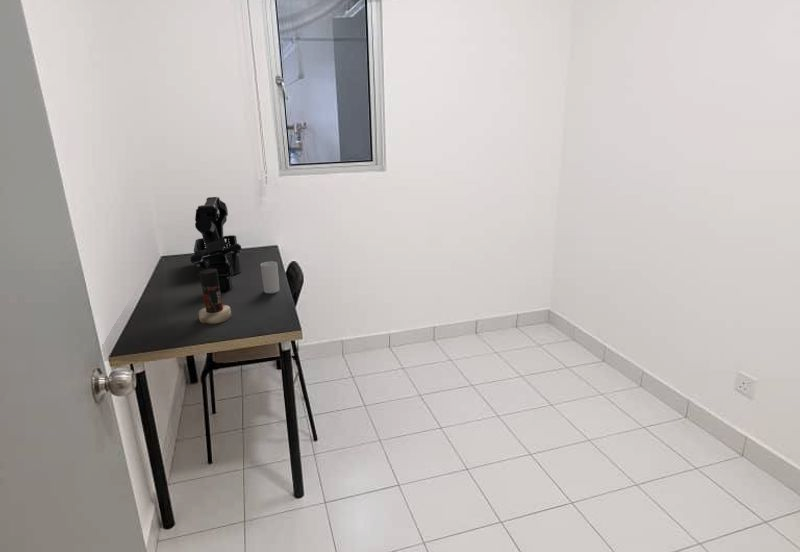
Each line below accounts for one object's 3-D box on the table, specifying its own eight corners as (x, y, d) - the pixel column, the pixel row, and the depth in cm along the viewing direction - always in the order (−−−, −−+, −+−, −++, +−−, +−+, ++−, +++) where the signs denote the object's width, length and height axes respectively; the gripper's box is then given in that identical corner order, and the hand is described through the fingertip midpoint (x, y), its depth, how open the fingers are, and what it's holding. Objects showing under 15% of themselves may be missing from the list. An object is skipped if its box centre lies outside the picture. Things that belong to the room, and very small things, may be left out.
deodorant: (209, 307, 183) (203, 268, 178) (225, 306, 183) (219, 268, 178) (203, 313, 178) (196, 273, 173) (219, 312, 177) (213, 273, 173)
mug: (279, 293, 205) (276, 265, 201) (262, 294, 204) (259, 266, 200) (281, 285, 214) (278, 258, 211) (265, 286, 213) (262, 260, 210)
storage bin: (199, 263, 251) (195, 237, 247) (239, 259, 257) (236, 234, 253) (197, 279, 226) (193, 251, 222) (241, 274, 232) (237, 246, 227)
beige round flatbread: (194, 323, 176) (193, 316, 175) (207, 312, 187) (206, 304, 186) (224, 323, 175) (223, 316, 174) (235, 312, 186) (234, 304, 185)
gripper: (183, 239, 179) (196, 279, 178) (235, 226, 185) (247, 265, 184) (186, 245, 189) (199, 283, 189) (235, 232, 196) (247, 269, 195)
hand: (223, 275), depth 189 cm, fingers open, 9 cm apart
